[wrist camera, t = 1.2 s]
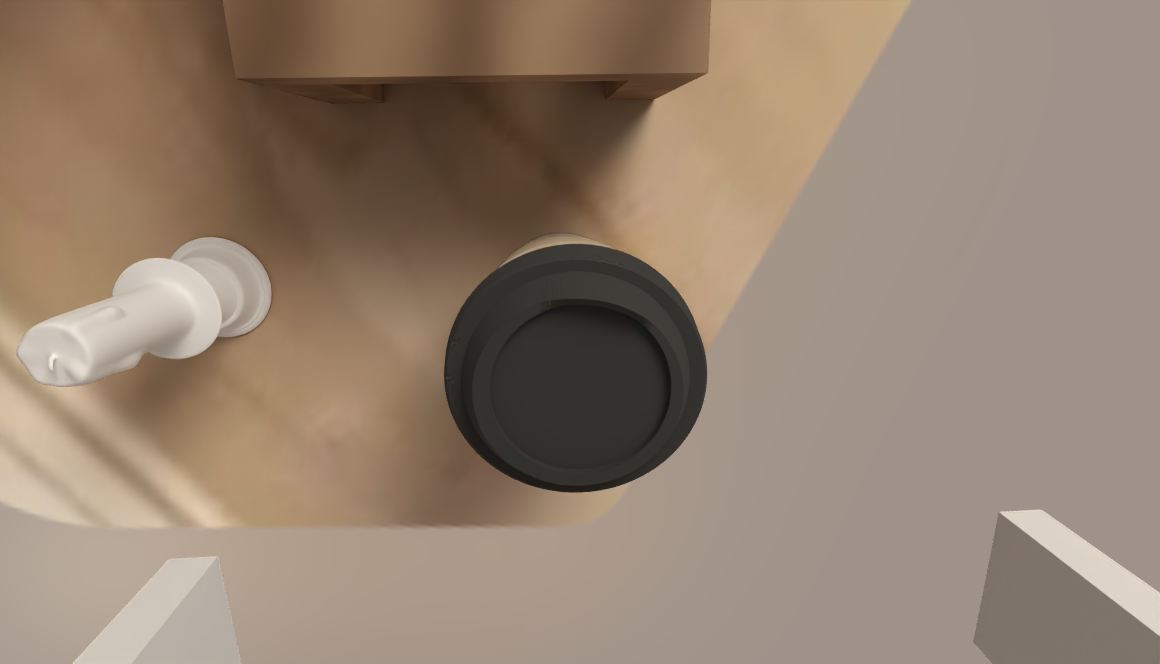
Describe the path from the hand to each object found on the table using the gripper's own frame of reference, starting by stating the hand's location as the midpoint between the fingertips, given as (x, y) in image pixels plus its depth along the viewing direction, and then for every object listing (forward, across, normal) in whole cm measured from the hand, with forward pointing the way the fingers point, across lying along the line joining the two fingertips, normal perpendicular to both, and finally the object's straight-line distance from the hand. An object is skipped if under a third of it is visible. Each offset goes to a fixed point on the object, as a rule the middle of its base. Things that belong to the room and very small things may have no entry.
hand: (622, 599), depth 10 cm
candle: (+24, -18, +1) cm, 30 cm away
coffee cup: (+24, 0, 0) cm, 24 cm away
